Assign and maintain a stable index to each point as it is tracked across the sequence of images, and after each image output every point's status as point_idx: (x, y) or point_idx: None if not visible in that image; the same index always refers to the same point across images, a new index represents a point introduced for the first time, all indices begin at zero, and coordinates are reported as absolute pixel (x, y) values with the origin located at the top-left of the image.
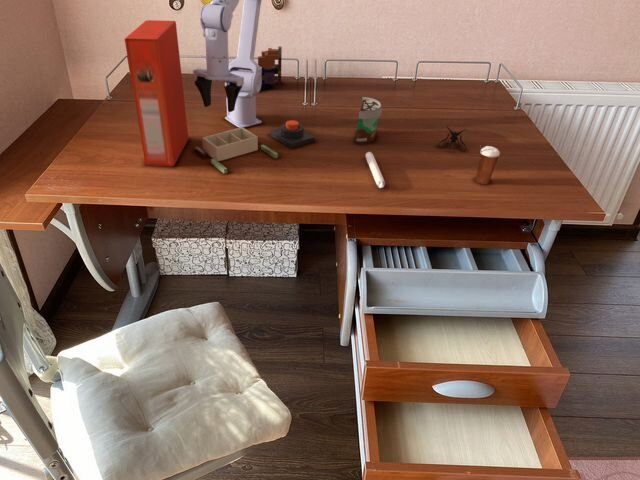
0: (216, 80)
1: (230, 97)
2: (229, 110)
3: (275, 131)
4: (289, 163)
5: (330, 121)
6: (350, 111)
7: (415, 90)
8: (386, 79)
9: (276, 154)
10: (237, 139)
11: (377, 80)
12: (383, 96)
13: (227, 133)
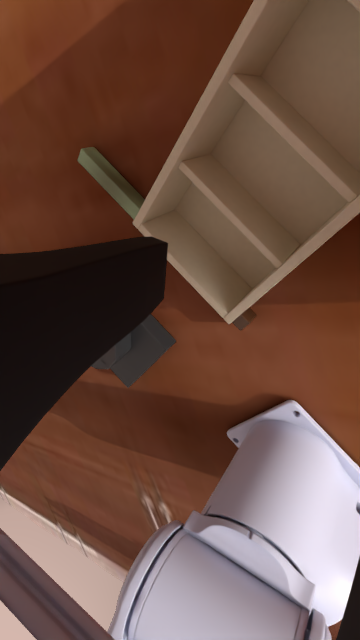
0: (77, 624)
1: (5, 258)
2: (147, 239)
3: (147, 341)
4: (45, 122)
5: (85, 411)
6: (77, 448)
7: (43, 494)
8: (88, 544)
9: (80, 154)
10: (223, 198)
11: (96, 547)
12: (64, 490)
13: (292, 255)
